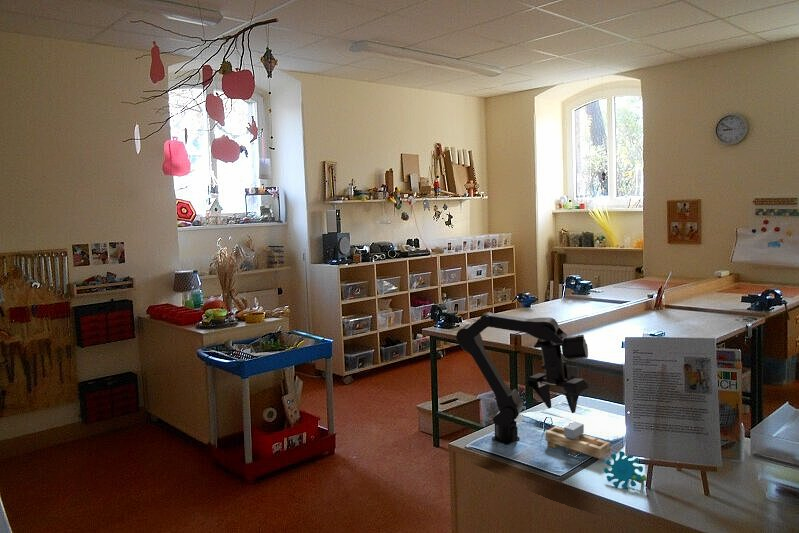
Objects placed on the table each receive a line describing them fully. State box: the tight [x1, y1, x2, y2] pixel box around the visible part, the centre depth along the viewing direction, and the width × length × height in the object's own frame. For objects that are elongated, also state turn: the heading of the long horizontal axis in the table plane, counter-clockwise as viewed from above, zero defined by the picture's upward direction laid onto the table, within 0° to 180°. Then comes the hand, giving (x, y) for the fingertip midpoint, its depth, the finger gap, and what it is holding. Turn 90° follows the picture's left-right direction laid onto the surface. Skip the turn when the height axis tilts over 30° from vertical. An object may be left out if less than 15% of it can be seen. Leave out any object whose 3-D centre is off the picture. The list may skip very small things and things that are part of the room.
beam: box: [544, 425, 611, 459], centre depth 180 cm, size 18×6×5 cm, turn 43°
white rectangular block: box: [563, 421, 585, 440], centre depth 180 cm, size 3×6×4 cm, turn 133°
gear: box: [603, 450, 648, 490], centre depth 162 cm, size 11×6×10 cm
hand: (561, 410), depth 182 cm, fingers open, 9 cm apart
